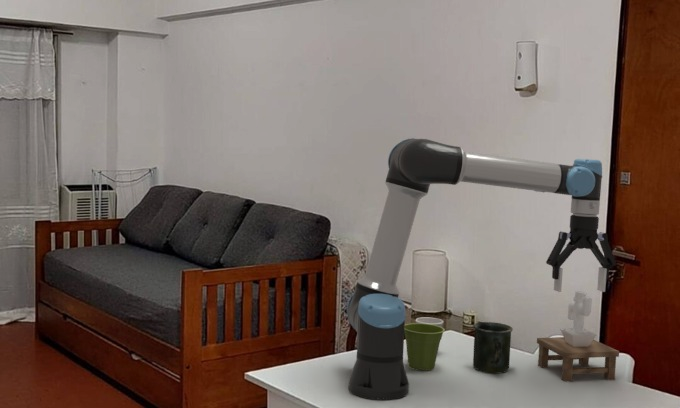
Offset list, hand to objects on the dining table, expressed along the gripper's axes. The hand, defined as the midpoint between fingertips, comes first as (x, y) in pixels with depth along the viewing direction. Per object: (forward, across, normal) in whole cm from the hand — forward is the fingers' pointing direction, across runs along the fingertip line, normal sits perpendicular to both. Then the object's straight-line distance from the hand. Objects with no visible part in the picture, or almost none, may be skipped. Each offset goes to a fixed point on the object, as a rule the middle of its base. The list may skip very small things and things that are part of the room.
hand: (579, 291), depth 211 cm
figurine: (+15, 0, 0) cm, 15 cm away
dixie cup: (+24, -35, +24) cm, 48 cm away
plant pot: (+24, -42, +10) cm, 49 cm away
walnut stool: (+23, 0, 0) cm, 23 cm away
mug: (+24, -23, +5) cm, 33 cm away
